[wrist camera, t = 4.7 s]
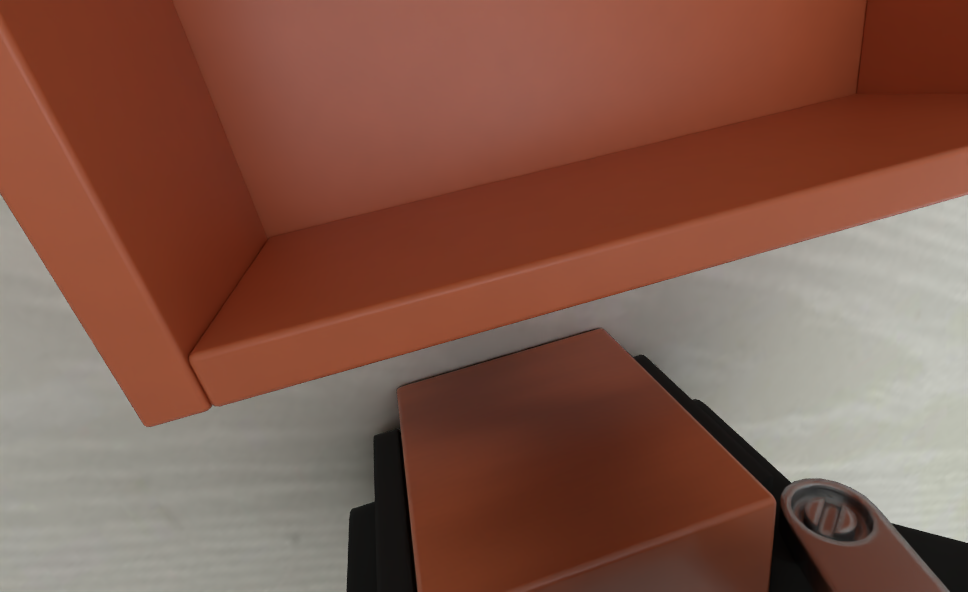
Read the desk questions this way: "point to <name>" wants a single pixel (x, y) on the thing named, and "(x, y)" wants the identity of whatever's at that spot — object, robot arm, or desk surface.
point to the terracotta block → (574, 481)
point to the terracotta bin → (441, 162)
